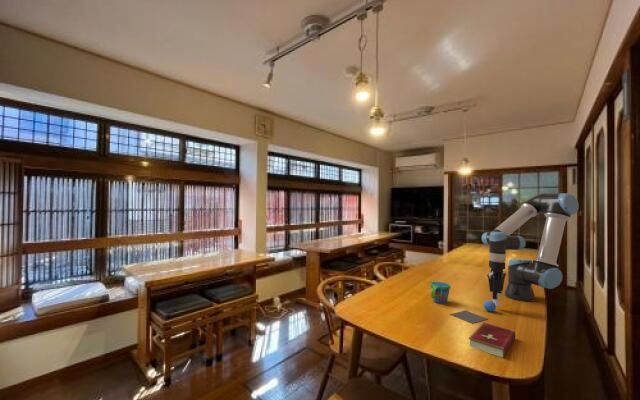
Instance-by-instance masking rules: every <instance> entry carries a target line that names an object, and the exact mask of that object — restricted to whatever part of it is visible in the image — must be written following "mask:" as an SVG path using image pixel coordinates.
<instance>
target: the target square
mask: <svg viewBox="0 0 640 400" xmlns="http://www.w3.org/2000/svg"><path fill="white" fill-rule="evenodd" d="M449 315H450V316H452V317H455V318H458V319H460V320H462V321H464V322H467V323H468V324H469V323H470V324H472V325H473V324H476V323H477V324H478V323H480V322H484V321H487V320H489V318H487V317H484V316H481V315H479V314H476V313H473V312H471V311H468V310H462V311H457V312H454V313H451V314H449Z"/></svg>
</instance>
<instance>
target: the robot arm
mask: <svg viewBox="0 0 640 400" xmlns="http://www.w3.org/2000/svg"><path fill="white" fill-rule="evenodd" d="M579 208H580V207H579V202H578V199H577V197H576V196H575V195H573V194H572V193H566V192H565V193H564V192H563V193H562V192H560V193H558V192H557V193H540V194H537V195H534V196H532V197H531V198H528V200H526V201H525V202H524V203H522V204H521V205H520V208H519V209H517V210H515V212H514V213H512V215H510V216H509V217H508V218H506V219H505V220H504V221H503V222H502V223H500V224H499V225H498V226H497V227H495V228H494V229H493V230H492V231H489V232H488V231H487V232H486V231H485V232H484V233H482V235H481V241H482V243H483V244H484V245H487V246H488V247H489V251H488V252H489V253H488V254H489V256H488V257H489V259H488V268H490V273H488V274H487V275H486V276H487V278H488V286H489V292H490V293H492V302H494V303H495V305H496V307H499V306H500V295H501V294H503V291H504V296H505V297H507V298H509V299H512V300H515V299H516V300H517V301H520V302H521V301H522V302H533V301H532V300H535V301H536V295H535V293H534V289H533V286H532V285H535V286H538V287H540V288H546V289H550V290H551V289H555V288H556V287H558V286H560V284H561V283H562V280H563V278H564V277H563V276H564V275H563V273H562V271H561V270H560V269H559V268H560V265H559V264H558V263H557V260H558V256H559V251H560V247H561V244H562V238H563V234H564V229H565V226H566V222H567V221H568V220H571V216H572V215H575V214H576V213H577V212H578V211H579ZM539 214H543V215H544V216H545V223H544V228H543V231H542V235H541V240H540V244H539V248H538V252H537V257H536V258H534V259H533V260H532V259H529V258H528V259H526V258H512V259H509V260H508V265H507V273H508V275H507V274H506V272H504V270H505V269H506V261H507V260H506V259H507V254H506V253H507V250H508V251H510V250H512V251H513V250H516V251H518V250H523V249H525V247H526V240H525V238H524V237H523V236H521V235H511V234H513V233H514V232H516V230H518V229H519V228H520V227H521V226H523V225H524V224H525V223H526V222H527V221H529V220H530V219H531V218H533V217H536V216H537V215H539ZM506 275H507V276H508V277H507V279H508V280H507V285H506V288H505V290H504V286H505V285H504V284H505V278H506Z"/></svg>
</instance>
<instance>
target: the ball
mask: <svg viewBox="0 0 640 400" xmlns="http://www.w3.org/2000/svg"><path fill="white" fill-rule="evenodd" d="M483 308H484V309H485V310H486V311H487V312H494V311H496V308H497V306H496V305H495V303H494V302H493V300H486V301H484V303H483Z"/></svg>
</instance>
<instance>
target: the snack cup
mask: <svg viewBox="0 0 640 400" xmlns="http://www.w3.org/2000/svg"><path fill="white" fill-rule="evenodd" d="M429 286H430V289H431V295H430V296H431V299H432V301H433V302H434V303H436V304H441V305H442V304H447V303H448V300H449V299H448V298H449V294H450V289H451V284H449V283H447V282H442V281H431V282H430V283H429Z"/></svg>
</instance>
